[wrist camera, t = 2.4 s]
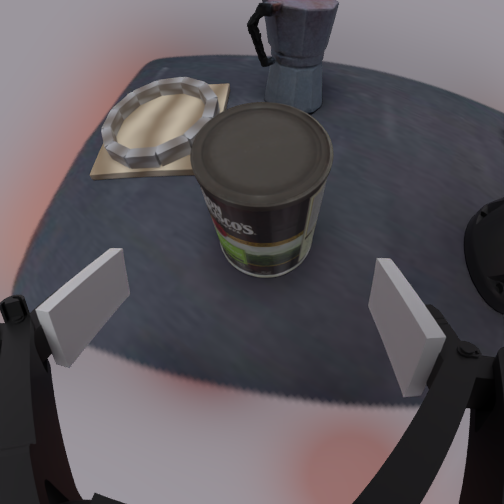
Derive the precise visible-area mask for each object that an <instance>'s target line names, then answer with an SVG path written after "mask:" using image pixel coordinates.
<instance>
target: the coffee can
mask: <svg viewBox="0 0 504 504" xmlns="http://www.w3.org/2000/svg"><path fill="white" fill-rule="evenodd" d="M190 161H191V167H192V170H193V173H194V175H195V177H196V179H197V181H198V183H199V184H200V187H201V190H202V193H203V195H204V198H205V201H206V204H207V207H208V210H209V212H210V215H211V218H212V220H213V223H214V226H215V229H216V232H217V235H218V237H219V240H220V244H221V248H222V251H223V253H224V255H225V257H226V258H227V259H228V261H229V262H230V263H231V264H232V265H233V266H234V267H235V268H237V269H238V270H240V271H241V272H243V273H246V274H248V275H251V276H255V277H261V278H270V277H277V276H281V275H284V274H286V273H288V272H290V271H292V270H293V269H295V268H296V267H298V266H299V265H300V264H301V263H302V262H303V260H304V259H305V258H306V256H307V255H308V253H309V250H310V248H311V244H312V238H313V233H314V230H315V225H316V222H317V218H318V214H319V210H320V206H321V201H322V197H323V193H324V189H325V185H326V180H327V177H328V175H329V172H330V170H331V166H332V162H333V147H332V143H331V140H330V137H329V135H328V133H327V132H326V130H325V129H324V128H323V126H322V125H321V124H320V123H319V122H318V121H317V120H316V119H314V118H313V117H312V116H310V115H309V114H308V113H306V112H304V111H302V110H300V109H297V108H295V107H292V106H289V105H285V104H280V103H273V102H256V103H247V104H242V105H238V106H235V107H232V108H229V109H227V110H225V111H223V112H221V113H219V114H217V115H216V116H215V117H213V118H212V119H210V120H209V121H208V122H207V123H206V124H205V125H204V126H203V127H202V128H201V129H200V130H199V132H198V133H197V135H196V137H195V139H194V141H193V144H192V147H191V153H190Z"/></svg>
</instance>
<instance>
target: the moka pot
mask: <svg viewBox="0 0 504 504" xmlns="http://www.w3.org/2000/svg"><path fill="white" fill-rule="evenodd" d="M262 1H263V3H259V5H258V7H257V8H256V11H255V13H254V14H253V15H252V17H250V20H249V21H248V23H247V27H248V31H249V34H251V38H252V40H253V44H254V45H255V49H256V52H257V54H258V58H259V60H260V62H261V65H262V67H267V66H270V69H269V74H268V79H267V84H266V91H265V101H266V102H273V103H280V104H285V105H289V106H292V107H295V108H297V109H300V110H302V111H304V112H306V113H311V112H314V111H315V110H316V109H318V108H319V107H320V106H321V105H322V60H323V56H324V50H325V49H326V47H327V45H328V41H329V37H330V34H331V30H332V26H333V23H334V20H335V16H336V12H337V8H338V5H339V2H338V1H336V0H262ZM263 16H265V21H266V29H267V37H268V43H269V44H270V45H271V55H272V57H271V58H267V56H266V54H265V52H264V48H263V44H262V41H261V33H259V29H258V27H257V26H258V23H259V19H260V18H261V17H263Z"/></svg>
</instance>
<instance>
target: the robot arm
mask: <svg viewBox="0 0 504 504" xmlns="http://www.w3.org/2000/svg"><path fill="white" fill-rule="evenodd" d="M464 246H465V256H466V262H467V266H468V269H469V272H470V275H471V277H472V280H473V282H474V284H475V286H476V288H477V289H478V291H479V293H480V294H481V295H482V297H483V298H484V299H485V301H486V302H487V303H488V304H489V305H490V306H491V307H493V308H494V309H495V310H497V311H498V312H500V313H502V314H504V197H503V198H501V199H498V200H496V201H493V202H491V203H488V204H486V205H485V206H483V207H482V208H481V209H480V210H479V211H478V212H477V213H476V214H475V215H474V216H473V217H472V219H471V220H470V222H469V224H468V226H467V229H466V233H465V242H464ZM129 295H130V290H129V285H128V279H127V273H126V267H125V261H124V255H123V249H120V248H110V249H109V250H108V251H106V252H105V253H104V254H103V255H101V256H100V257H99V258H97V259H96V260H95V261H93V262H92V263H91V264H90V265H88V266H87V267H86V268H85V269H83V270H82V271H81V272H80V273H78V274H77V275H76V276H75V277H73V278H72V279H71V280H70V281H68V282H67V283H66V284H65V285H64V286H62V287H61V288H60V289H58V290H57V291H55V292H54V293H53V294H52V295H50V297H48V298H47V299H46V300H45V302H44V301H43V302H42V303H41V304H40V305H39V306H38V307H36V308H35V309H34V310H33V311H32V312H31V313H29V310H28V307H27V304H26V301H25V298H24V296H22V295H13V296H10V297H8V298H6V299H4V300H3V301H2V302H0V311H1V313H2V316H3V319H4V321H5V323H0V504H125V503H122V502H119V501H116V500H113V499H110V498H108V497H105V496H102V495H100V494H97V493H94V496H93V498H92V500H83V499H82V497H81V496H80V494H79V493H78V491H77V488H76V486H75V483H74V479H73V476H72V473H71V469H70V466H69V462H68V458H67V455H66V451H65V447H64V443H63V438H62V434H61V429H60V424H59V420H58V414H57V409H56V403H55V397H54V390H53V383H52V375H51V367H50V363H49V361H48V359H47V358H48V357H49V356H50V355H51V354H52V355H53V357H54V360H55V362H56V364H58V365H61V366H64V367H68V368H70V367H71V365H72V364H73V363H74V361H75V360H76V359H77V358H78V356H79V355H80V354H81V352H82V351H83V350H84V349H85V348H86V346H87V345H88V344H89V343H90V341H91V340H92V339H93V338H94V336H95V335H96V334H97V333H98V332H99V330H100V329H101V328H102V327H103V325H104V324H105V323H106V322H107V321H108V319H109V318H110V317H111V316H112V315H113V314H114V312H115V311H116V310H117V309H118V308H119V306H120V305H121V304H122V303H123V302H124V301H125V299H126V298H127V297H128V296H129ZM368 307H369V310H370V312H371V314H372V317H373V319H374V321H375V324H376V326H377V329H378V331H379V334H380V336H381V339H382V341H383V344H384V346H385V349H386V351H387V354H388V357H389V359H390V362H391V364H392V367H393V370H394V372H395V375H396V378H397V381H398V383H399V386H400V389H401V392H402V395H403V397H412V396H420V395H422V393H423V391H424V388H425V386H426V384H427V386H428V388H429V392H428V393H427V395H426V397H425V399H424V401H423V403H422V404H421V406H420V408H419V410H418V411H417V413H416V415H415V417H414V418H413V420H412V422H411V424H410V425H409V427H408V428H407V430H406V431H405V433H404V435H403V436H402V438H401V439H400V441H399V442H398V444H397V446H396V447H395V448H394V450H393V451H392V453H391V454H390V456H389V457H388V458H387V460H386V461H385V463H384V464H383V465H382V467H381V468H380V470H379V471H378V472H377V474H376V475H375V477H374V478H373V479H372V480H371V482H370V483H369V484H368V485H367V487H366V488H365V489H364V490H363V492H362V493H361V494H360V495H359V497H358V498H357V499H356V500H355V501H354V502H353V503H352V504H420V503H421V502H422V500H423V498H424V497H425V495H426V493H427V491H428V490H429V488H430V486H431V484H432V482H433V480H434V479H435V477H436V475H437V473H438V471H439V469H440V467H441V465H442V463H443V461H444V459H445V457H446V455H447V452H448V450H449V448H450V446H451V444H452V441H453V439H454V436H455V434H456V432H457V429H458V427H459V425H460V422H461V419H462V417H463V414H464V411H465V409H466V408H470V428H469V439H468V449H467V458H466V466H465V472H464V478H463V485H462V490H461V495H460V500H459V504H504V347H503V348H501V349H500V350H499V351H498V353H497V355H496V357H488V356H481V352H480V350H479V349H478V348H477V347H476V346H475V345H473V344H471V343H469V342H466V341H460V339H459V338H458V336H457V335H456V333H455V332H454V331H453V329H452V328H451V326H450V325H448V322H447V321H446V319H444V316H443V315H442V314H441V312H440V311H439V310H438V309H436V308H435V307H434V306H432V305H424V303H423V302H422V300H421V299H420V298H419V296H418V295H417V293H416V292H415V291H414V289H413V288H412V287H411V285H410V284H409V282H408V281H407V280H406V278H405V277H404V276H403V274H402V273H401V272H400V270H399V269H398V268H397V266H396V265H395V264H394V262H393V261H392V260H391V259H389V258H377V259H376V265H375V271H374V277H373V283H372V288H371V294H370V299H369V304H368Z"/></svg>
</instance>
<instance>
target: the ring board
mask: <svg viewBox="0 0 504 504" xmlns="http://www.w3.org/2000/svg"><path fill="white" fill-rule="evenodd" d="M133 92H134V93H133ZM133 92H131V93H130V94H128V95H127V96H126V97H125V98H124V99H123V100H121V101H120V102H119V103H118V104H117V105H116V106H114V107H113V108H112V109H113V110H111V111H110V113H109V115H108V117H107V119H106V121H105V123H104V125H103V127H102V130H101V132H102V137H103V142H104V143H103V145H102V147H101V149H100V152H99V154H98V156H97V159H96V161H95V163H94V166H93V168H92V171H91V173H90V177H91V178H92V179H93V180H101V179H115V178H131V177H150V176H177V175H194V173H193V170H192V167H191V161H190V153H191V147H192V144H193V141H194V139H195V137H196V135H197V133H198V132H199V130H200V129H201V128H202V127H203V126H204V125H205V124H206V123H207V122H208V121H209V120H210V119H212V118H213V117H215V116H216V115H217V114H219V113H221V112H223V111H225V110H226V106H227V102H228V97H229V92H230V85H229V84H212V85H208V84H207V83H206V82H203V81H199V80H195V79H191V78H188V77H185V78H184V77H178V78H170V79H162V80H159V81H155V82H152V83H150V84H148V85H145V86H143V87H141V88H139V89H136V90H134V91H133Z"/></svg>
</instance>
